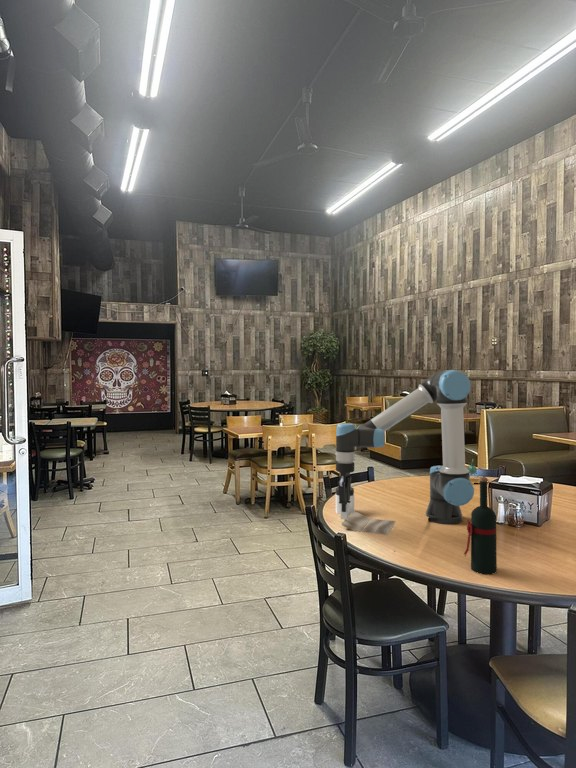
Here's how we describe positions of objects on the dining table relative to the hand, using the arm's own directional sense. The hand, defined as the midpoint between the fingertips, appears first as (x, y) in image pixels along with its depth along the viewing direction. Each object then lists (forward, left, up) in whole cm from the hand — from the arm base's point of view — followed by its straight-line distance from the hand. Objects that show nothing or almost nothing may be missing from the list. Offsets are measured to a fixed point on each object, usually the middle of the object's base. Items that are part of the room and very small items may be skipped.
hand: (344, 519), depth 198 cm
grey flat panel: (-8, -5, -5) cm, 10 cm away
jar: (+5, -20, -5) cm, 21 cm away
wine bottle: (-52, +23, -5) cm, 57 cm away
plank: (-4, -5, -3) cm, 7 cm away
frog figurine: (-48, -105, -5) cm, 115 cm away
